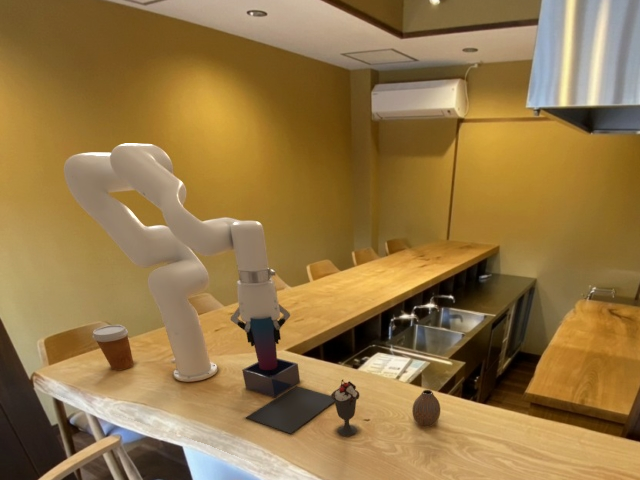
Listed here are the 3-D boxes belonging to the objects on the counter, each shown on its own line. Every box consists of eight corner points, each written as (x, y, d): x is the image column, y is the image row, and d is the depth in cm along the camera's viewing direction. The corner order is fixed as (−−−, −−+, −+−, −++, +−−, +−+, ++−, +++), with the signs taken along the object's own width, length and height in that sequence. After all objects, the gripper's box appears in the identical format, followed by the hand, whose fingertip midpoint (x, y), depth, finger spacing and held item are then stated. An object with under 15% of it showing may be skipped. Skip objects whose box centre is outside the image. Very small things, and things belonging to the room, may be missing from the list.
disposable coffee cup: (120, 374, 129) (106, 337, 123) (98, 369, 132) (83, 332, 126) (146, 362, 137) (133, 326, 130) (124, 358, 140) (111, 322, 133)
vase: (442, 418, 108) (444, 387, 103) (435, 432, 102) (438, 400, 97) (416, 413, 109) (417, 383, 105) (408, 427, 104) (409, 396, 99)
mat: (245, 418, 108) (245, 417, 107) (296, 387, 122) (296, 385, 122) (291, 434, 101) (290, 433, 101) (338, 399, 116) (338, 398, 116)
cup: (274, 372, 116) (266, 319, 108) (251, 370, 117) (242, 317, 109) (284, 362, 122) (277, 311, 114) (262, 360, 123) (254, 309, 115)
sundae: (340, 441, 99) (335, 385, 90) (329, 428, 104) (324, 372, 95) (365, 434, 101) (363, 378, 93) (354, 421, 106) (351, 367, 98)
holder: (245, 388, 121) (241, 369, 118) (272, 374, 129) (269, 356, 126) (274, 397, 117) (271, 378, 113) (300, 382, 125) (297, 363, 121)
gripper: (288, 270, 111) (295, 335, 121) (219, 274, 107) (232, 341, 117) (290, 277, 105) (297, 345, 115) (217, 281, 101) (231, 351, 111)
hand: (264, 342), depth 116 cm, fingers closed on cup, 6 cm apart
